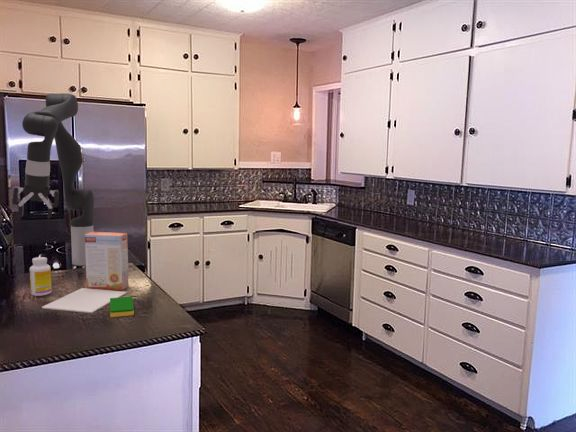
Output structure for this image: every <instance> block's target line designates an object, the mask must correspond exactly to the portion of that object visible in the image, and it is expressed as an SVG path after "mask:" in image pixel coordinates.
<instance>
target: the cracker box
mask: <svg viewBox="0 0 576 432" xmlns="http://www.w3.org/2000/svg"><path fill="white" fill-rule="evenodd" d="M128 243H129V242H128V233H127V232H109V231H108V232H105V231H94V232H90V233H87V234H85V254H86V265H85V276H86V288H88V289H99V290H110V291H123V290H125V289H126V288H128V287H129V258H128V257H129V251H128V250H129V249H128V248H129V247H128V245H129V244H128Z"/></svg>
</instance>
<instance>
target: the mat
mask: <svg viewBox="0 0 576 432" xmlns="http://www.w3.org/2000/svg"><path fill="white" fill-rule="evenodd" d="M127 293H128V292H127V291H123V290H105V289H88V288H87V287H85V288H84V287H81V288H80V289H79V288H78V289H77V290H75V291H73V292H71V293H69V294H65V295H64V296H61V297H60V298H57V299H56V300H53V301H51V302H49V303H47V304H45V305H43V306H41V309H45V310H46V309H47V310H56V311H67V312H76V313H86V314H87V313H88V314H93V313H95V312H96V311H98V310H100V309H102V308H103V307H106V306H107V305H108V304H109V305H110V298H119V297H124V295H126V294H127Z"/></svg>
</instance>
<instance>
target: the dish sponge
mask: <svg viewBox="0 0 576 432" xmlns="http://www.w3.org/2000/svg"><path fill="white" fill-rule="evenodd" d="M109 315H110V316H109V317H110V318H116V317H117V318H119V317H129V316H134V315H135V307H134V301H133V296H121V297H119V298H110V303H109Z"/></svg>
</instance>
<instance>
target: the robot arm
mask: <svg viewBox="0 0 576 432" xmlns="http://www.w3.org/2000/svg"><path fill="white" fill-rule="evenodd" d="M78 112H79V104H78V99H77V97H76V96H75V95H74V94H72V93H67V92H65V93H59V92H58V93H47V95H46V96H45V107H44V108H42V109H41V110H37V111H36V110H35V111H32V112H29V113H27V114H26V115H25V116H24V118H23V119H22V124H21V126H22V129H23V131H24V132H25V133H26V134H29V135H31V136H37V137H39V136H40V137H44V138H43V140H42V141H31V142H29V143H28V145H27V152H26V153H27V155H26V162H25V169H24V170H25V173H24V174H25V176H24V187H20V186H18V185H16V186H15V187H14V188H13V195H12V204H13V205H16V206H17V207H18V208H17V209H18V210H17V212H18V213H17V214H18V216H19V217H22V218H23V216H24V207H25V205H24V204H25V203H27V201H31V202H35V201H36V202H38V203H39V202H40V203H41V202H43V203H44V204H45V205H46V207H47V216H46V217H47V219H50V218H52V216H53V209H54V208H58V207H59V189H55V190H54V189H53V190H52V189H50V178H51V177H50V175H51V174H50V173H51V151H52V145H53V142H54V141H55V148H56V152H57V153H56V154H57V159H58V164H59V168H60V171H61V177H62V183H63V190H64V191H63V192H64V200H65V204H66V207H67V208H68V210H69V211H70V210H71V211H83V212H82V214H81V215H80V216H77V217H75V218H74V217H73V218H72V219H71V220H70V235H71V237H70V238H71V244H70V245H71V264H72V265H73V266H80V267H81V266H83V267H84V266H86V254H85V234H87V233H90V232H95V231H94V220H95V219H94V217H95V215H94V214H95V213H94V212H95V195H94V192H93V191H92V190H91V189H86V188H85V189H80V188H79V189H77V188H76V187H75V180H76V178H77V175H78V173H79V171H80V170H81V167H82V165H83V163H84V162H83V153H82V148H81V146H80V143H79V142H78V141H77V140H76V138H74V136H73V135H72V134H71V133H70V132H69V131H68V129H66V127H65V126H64V124H63V122H64V121H65V120H68V119H69V118H71V117H72V118H73V117H75V116H76V115H77V113H78ZM22 192H23V194H24V195H25V196H24V197H23V198H22V199H21V200H19V198H18V197H19V195H20V194H21V193H22ZM50 194H51V196H52V197H53V203H52V201H51V200H50V198H49V197H48V196H49V195H50Z"/></svg>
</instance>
